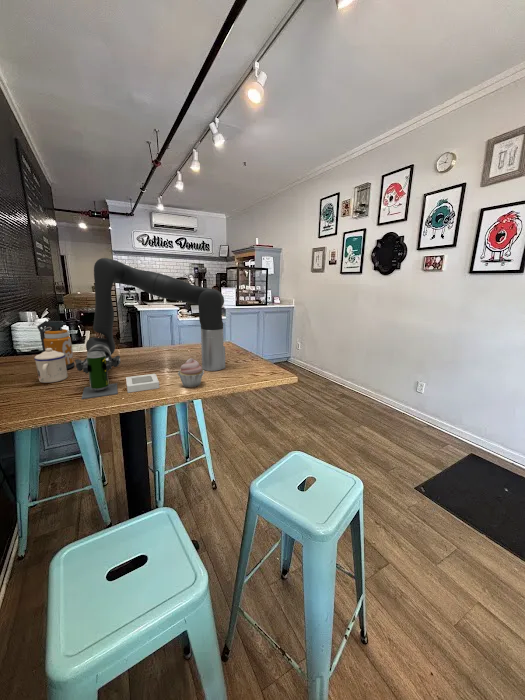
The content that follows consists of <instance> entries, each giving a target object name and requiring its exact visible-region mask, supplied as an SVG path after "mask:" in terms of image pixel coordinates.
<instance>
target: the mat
mask: <svg viewBox="0 0 525 700" xmlns="http://www.w3.org/2000/svg"><path fill="white" fill-rule="evenodd" d="M115 395H118V382H116V383H109V386H108V388H106V389H103V390H92V388H91V387H90V386H86V387H84V388H83V391H82V395H81V400H86V399H94V398H101V397H108V396H115Z"/></svg>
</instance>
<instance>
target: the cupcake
mask: <svg viewBox="0 0 525 700" xmlns="http://www.w3.org/2000/svg"><path fill="white" fill-rule="evenodd" d="M204 374H205V370H203V369H202V365H200V362H199V361H197V360H196V359H194V358H192V357H191V358H189V359H187V360H186V361H185V363H183V364H181V366H180V370H179V371H178V372H177V375H178V377H179V378H180V381H181V385H182V386H183V387H184V388H195V387H199V386H201V383H202V378H203V376H204Z"/></svg>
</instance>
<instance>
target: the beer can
mask: <svg viewBox="0 0 525 700" xmlns="http://www.w3.org/2000/svg"><path fill="white" fill-rule="evenodd" d="M86 358H87V365H88V371H89V372H88V377H89V385H90V386H89V387H91V388H92V390H103V389H106V388H108V386H109V384H110V381H109V371H107V368H106V355H105V352H104V351H93V352H89V353H88V352H87V354H86Z"/></svg>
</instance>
